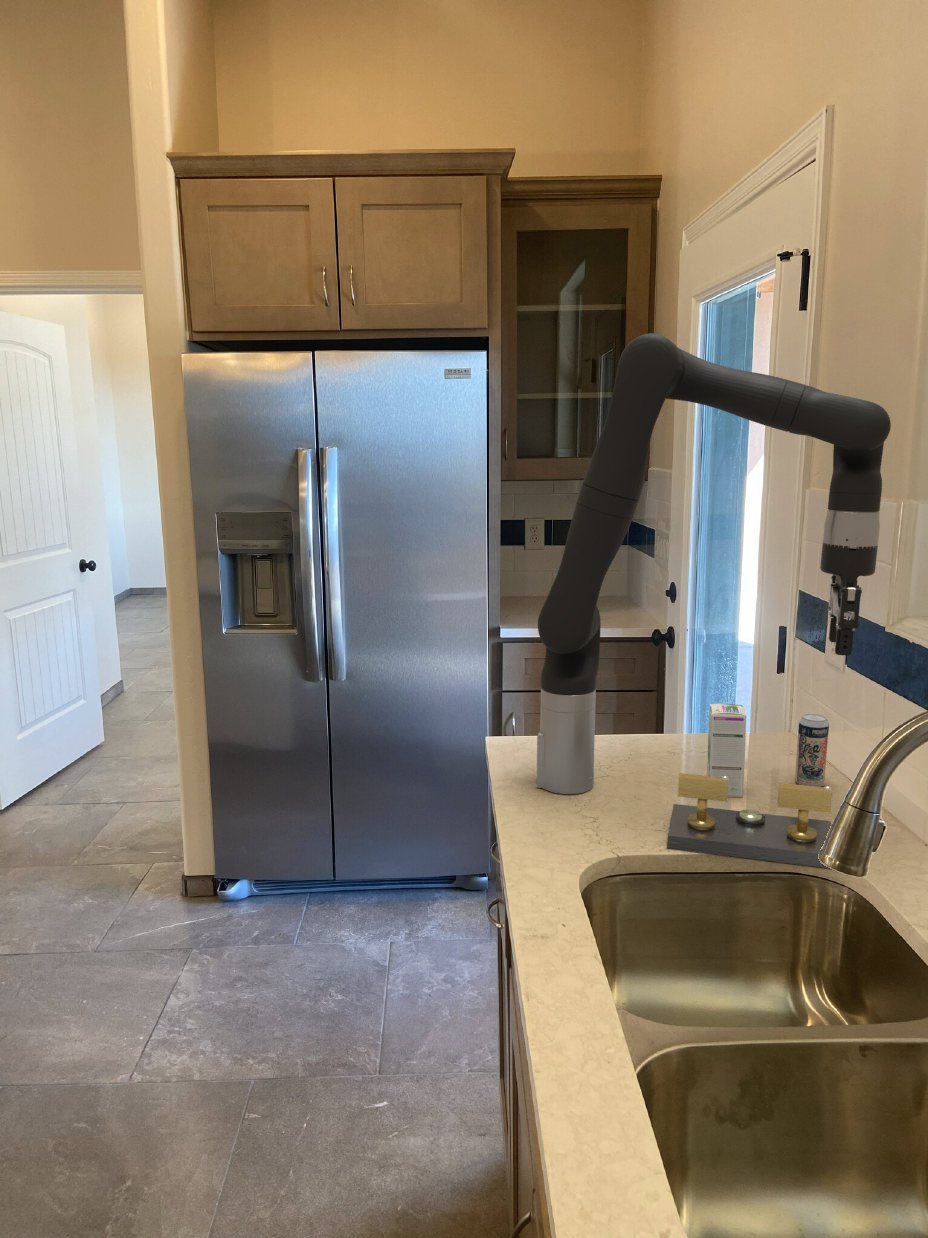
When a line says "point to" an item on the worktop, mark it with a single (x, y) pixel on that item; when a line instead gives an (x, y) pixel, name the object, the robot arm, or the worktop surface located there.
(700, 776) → the knob
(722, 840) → the levelling plate
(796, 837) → the knob
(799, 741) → the beer can
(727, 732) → the syrup box
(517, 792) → the worktop surface
